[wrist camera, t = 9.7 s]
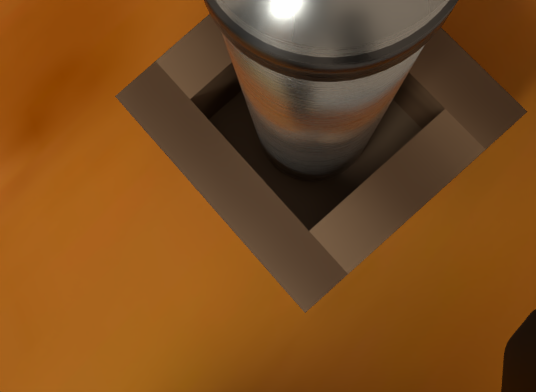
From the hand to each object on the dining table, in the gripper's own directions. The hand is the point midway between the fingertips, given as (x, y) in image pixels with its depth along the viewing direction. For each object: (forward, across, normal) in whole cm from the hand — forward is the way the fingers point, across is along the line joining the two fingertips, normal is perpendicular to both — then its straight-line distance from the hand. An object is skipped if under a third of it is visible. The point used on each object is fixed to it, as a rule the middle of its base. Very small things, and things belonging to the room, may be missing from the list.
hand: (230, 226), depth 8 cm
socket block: (+13, 0, +6) cm, 14 cm away
